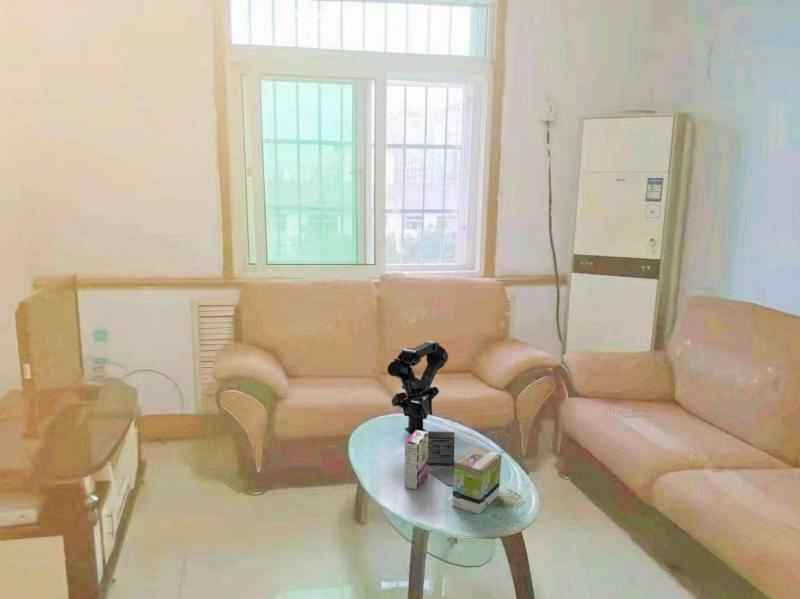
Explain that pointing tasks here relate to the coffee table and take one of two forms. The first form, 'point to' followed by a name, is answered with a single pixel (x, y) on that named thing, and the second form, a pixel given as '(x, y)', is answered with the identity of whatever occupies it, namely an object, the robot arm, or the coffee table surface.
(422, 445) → the candy bar box
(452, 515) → the coffee table surface
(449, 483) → the slate mat
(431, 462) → the small box
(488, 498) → the tea box
